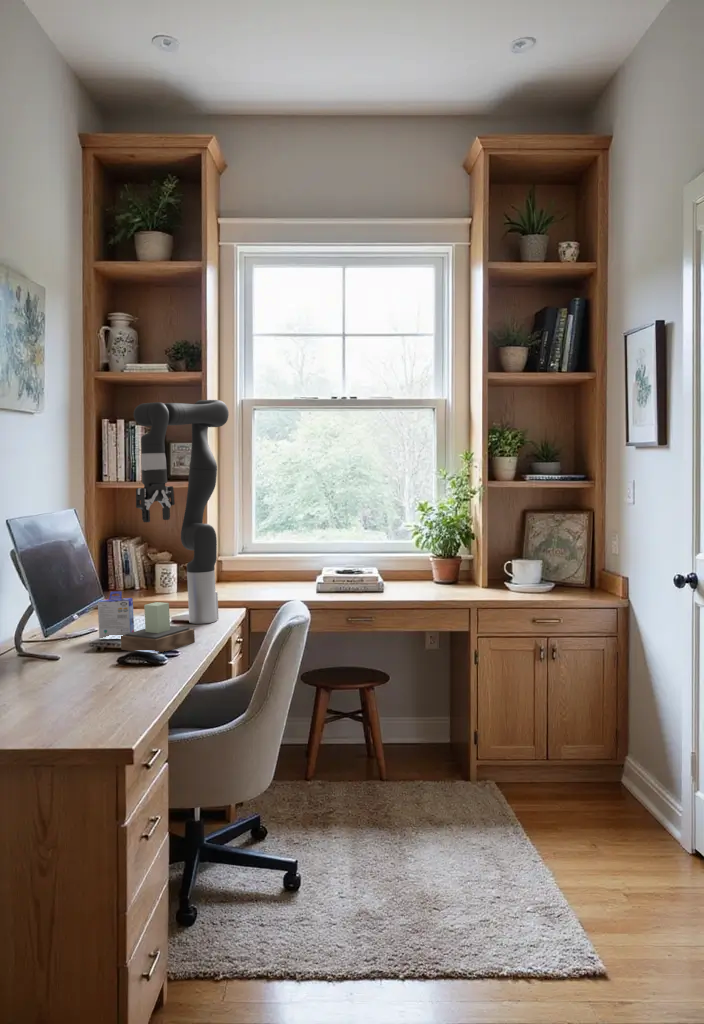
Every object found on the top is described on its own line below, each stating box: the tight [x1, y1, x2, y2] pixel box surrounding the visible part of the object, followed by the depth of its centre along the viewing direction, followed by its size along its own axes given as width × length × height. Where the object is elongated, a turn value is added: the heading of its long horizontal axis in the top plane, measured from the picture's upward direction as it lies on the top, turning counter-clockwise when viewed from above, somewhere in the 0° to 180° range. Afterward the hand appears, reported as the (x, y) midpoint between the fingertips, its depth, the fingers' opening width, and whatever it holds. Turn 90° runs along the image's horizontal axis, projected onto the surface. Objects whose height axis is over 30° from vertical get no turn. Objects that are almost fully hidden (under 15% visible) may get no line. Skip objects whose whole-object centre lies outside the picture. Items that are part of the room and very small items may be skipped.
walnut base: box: [120, 625, 196, 653], centre depth 243 cm, size 16×14×4 cm
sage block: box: [143, 601, 171, 633], centre depth 243 cm, size 5×5×8 cm
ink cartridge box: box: [97, 590, 135, 638], centre depth 255 cm, size 10×6×14 cm, turn 92°
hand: (156, 521), depth 254 cm, fingers open, 8 cm apart
